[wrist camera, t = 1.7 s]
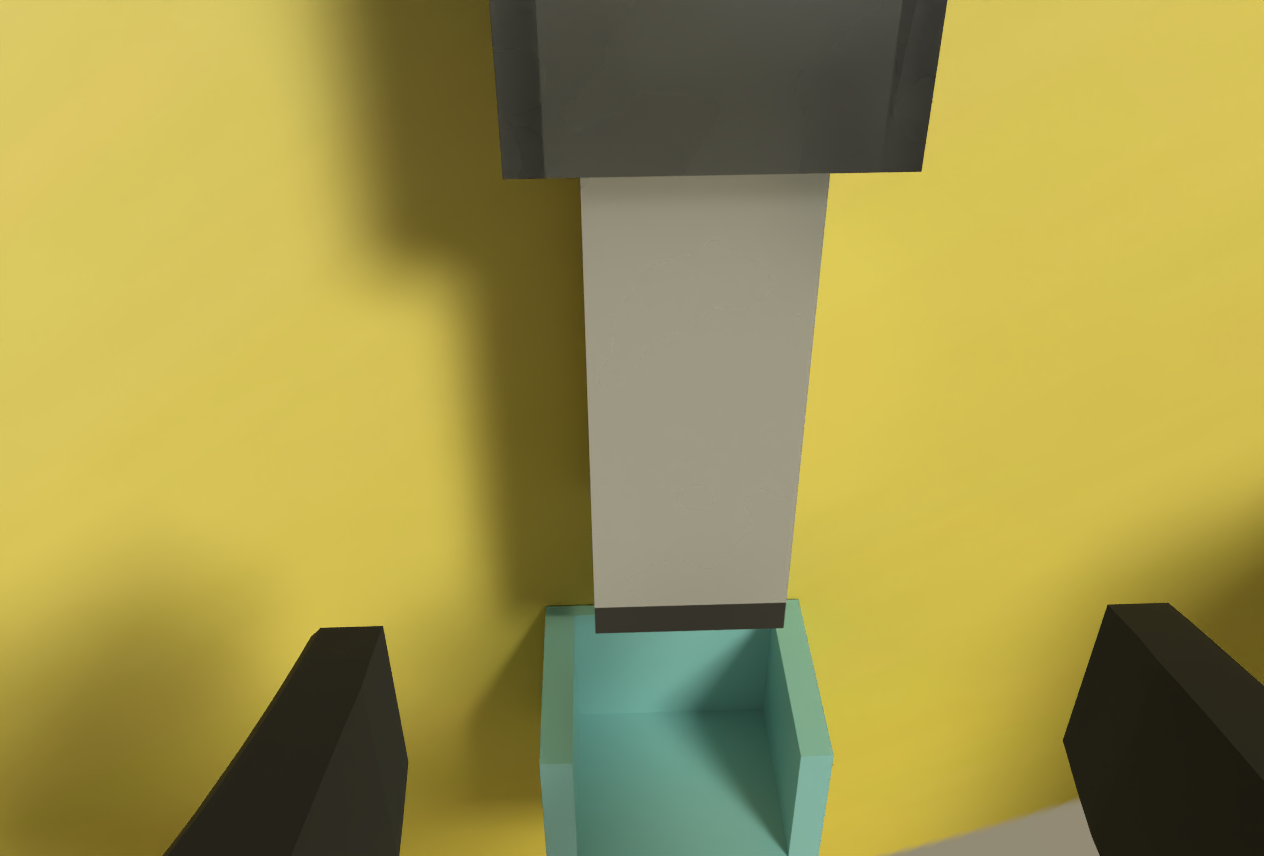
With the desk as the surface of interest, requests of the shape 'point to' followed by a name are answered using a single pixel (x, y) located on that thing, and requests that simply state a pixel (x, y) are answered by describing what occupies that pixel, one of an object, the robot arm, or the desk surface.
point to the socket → (681, 740)
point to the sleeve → (713, 86)
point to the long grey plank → (697, 392)
